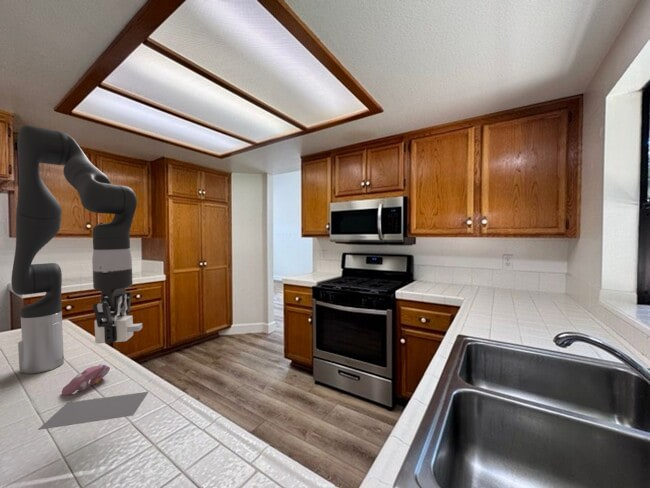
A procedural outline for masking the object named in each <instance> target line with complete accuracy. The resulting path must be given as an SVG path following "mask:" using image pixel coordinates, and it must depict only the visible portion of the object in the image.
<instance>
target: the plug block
mask: <svg viewBox="0 0 650 488" xmlns="http://www.w3.org/2000/svg"><path fill="white" fill-rule="evenodd" d="M133 319H134V317H133V315H127V316H119V317H117V324H116V326H117V341H115V342H114V343H118V342H119V343H121V342H122V343H123V342H127V341H128V340H130V339H131V338H132V337H133V336H134V332H139V331H141V330H142V329H143V323H142V322H140V323H134V322H133V321H134V320H133ZM102 320H103V318H102ZM94 340H95V341H94V342H95V343H96V344H107V343H106V342H105V332H104V327H98V325H97V321H96V319H95V320H94Z"/></svg>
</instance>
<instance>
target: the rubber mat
mask: <svg viewBox="0 0 650 488" xmlns="http://www.w3.org/2000/svg"><path fill="white" fill-rule="evenodd" d="M148 394H149V391H145V392H143V391H142V392H136V393H135V392H134V393H128V394H121V395H113V396H106V397H99V398H92V399H84V400H78V401H76V400H75V401H69V402H66V403H65V404H64V405H63V406H62V407H61V408H59V410H58V411H56V412H55V413H54V414H53V415H52V416H51V417H49V419H47V420H46V422H44V423H43V424H42V425H41V426H40V427H39V428H38V431H39V430H45V429H53V428H59V427H64V426H71V425H78V424H79V425H80V424H85V423H91V422H98V421H104V420H113V419H119V418H124V417H131V416H134V415H135V414H136V412H137V410H138V408H139V407H140V406H141V405H142V403H143V401H144V400H145V398H146V397H147V395H148Z"/></svg>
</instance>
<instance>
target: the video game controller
mask: <svg viewBox="0 0 650 488" xmlns="http://www.w3.org/2000/svg"><path fill="white" fill-rule="evenodd" d="M110 368H111V367H109V366H108V365H106V364H102V363H100V364H98V365H94V366H90V367H87V368H86V369H84V371H82V372H81V373H78V374H77V375H75V377H73V378H72V379H71V381H69V382H68V384H66V385H65V386H63V387H62V390H61V395H62V396H70V395H72V394H73V393H75V392H77V391H79V392H82V391H84V390H86V389H88V388H89V387H90V385H91V386H93V385H95V384H98V383H99V382H100V381H101V380H102V379H103V378H104V377H105V376H106V375H107V374H108V373H109V371H110Z"/></svg>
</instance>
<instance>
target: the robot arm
mask: <svg viewBox="0 0 650 488" xmlns="http://www.w3.org/2000/svg"><path fill="white" fill-rule="evenodd" d="M16 142H17V143H16V144H17V146H16V147H17V163H18V167H17V168H18V193H17V204H16V217H15V251H14V257H13V262H12V263H13V265H12V271H11V277H10V278H11V279H10V280H11V282H10V283H11V288H12V291H13V293H14V294H16V295H18V296H21V295H22V296H23V295H33V294H41V293H45V294H44V295H43V296H42V297H41V298H39V299H37V300H35V301H34V302H32V303H28V304H26V305H24V306H23V307H21V308H20V327H21V329H20V330H21V340H20V341H18V343H17V346H18V347H17V350H18V351H17V353H18V365H19V366H18V372H19V373H20V374H21V373H25V374H29V375H30V374H37V373H43V372H47V371H51V370H54V369H56V368H58V367H60V366H62V365H64V363H65V353H64V351H65V350H64V335H63V334H64V333H63V332H64V331H63V330H64V328H63V311H62V310H63V309H62V282H63V276H62V268H61V266H60V265H59V264H58V263H55V262H46V263H33V260H34V259H35V257H36V255H37V254H38V253H39V251H41V250H42V248H44V247H45V245H47V244H48V243H49V242H50V241H51V240H52V239H54V237H56V235H57V234H58V233H59V231H60V229H61V225H62V216H63V215H62V214H63V213H62V212H63V211H62V206H61V204H60V203H59V200H57V198H56V197H55V196H54V195H53V193H52V192H51V191H50V189H49V188H48V187H47V186H46V184H45V182H44V181H43V180H42V177H41V174H40V164H47V165H55V166H64V167H63V175H64V178H65V179H66V181H67V182H68V183H69V184H70V186H72V187H73V188H74V189H75V190H76V191H77V193H78V195H79V198H80V202H81V205H82V207H83V208H84V209H86V211H89V212H91V213H95V214H107V215H108V214H109V215H113V219H112V220H111V221H110V222H108V223H100V224H97V225H95V226H93V228H92V281H93V282H92V285H93V289H94V290H96V291H100V292H101V295H100V301H99V302H98V303H93V305H92V308H93V312H94V317H95V320H96V321H97V325H98V327H104V332H105V342H106V343H105V344H110V343H112V344H113V343H116V342H115V341H117V326H116V324H117V317H119V316H130V311H131V299H132V291H127V290H126V289H127V288H130V287H132V286H133V263H132V262H133V259H132V253H131V242H130V241H131V238H130V232H131V228H132V224H133V219H134V217H135V214H136V210H137V206H138V198H137V195H136V192H135V191H134V190H133V189H132V188H131V187H129V186H126V185H121V184H112V183H111V181H110V178H109V177H108V176H107V175H106V174H105V173H104V172H103V171H102V170H100V169H99V168H97V167H96V166H95V165H94V164H93V162H91V161H90V159H89V158H88V157H87V155H86V154H85V153H84V151H83V149H82V148H81V147H80V145H79V144H78V143H77V141H76V140H75V139H74V138H73V137H72V136H71V135H70V134H68V133H66V132H63V131H59V130H54V129H49V128H44V127H39V126H33V125H28V124H27V125H23V126H21V127H20V128H19V131H18V133H17V141H16ZM102 318H103V320H102Z"/></svg>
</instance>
